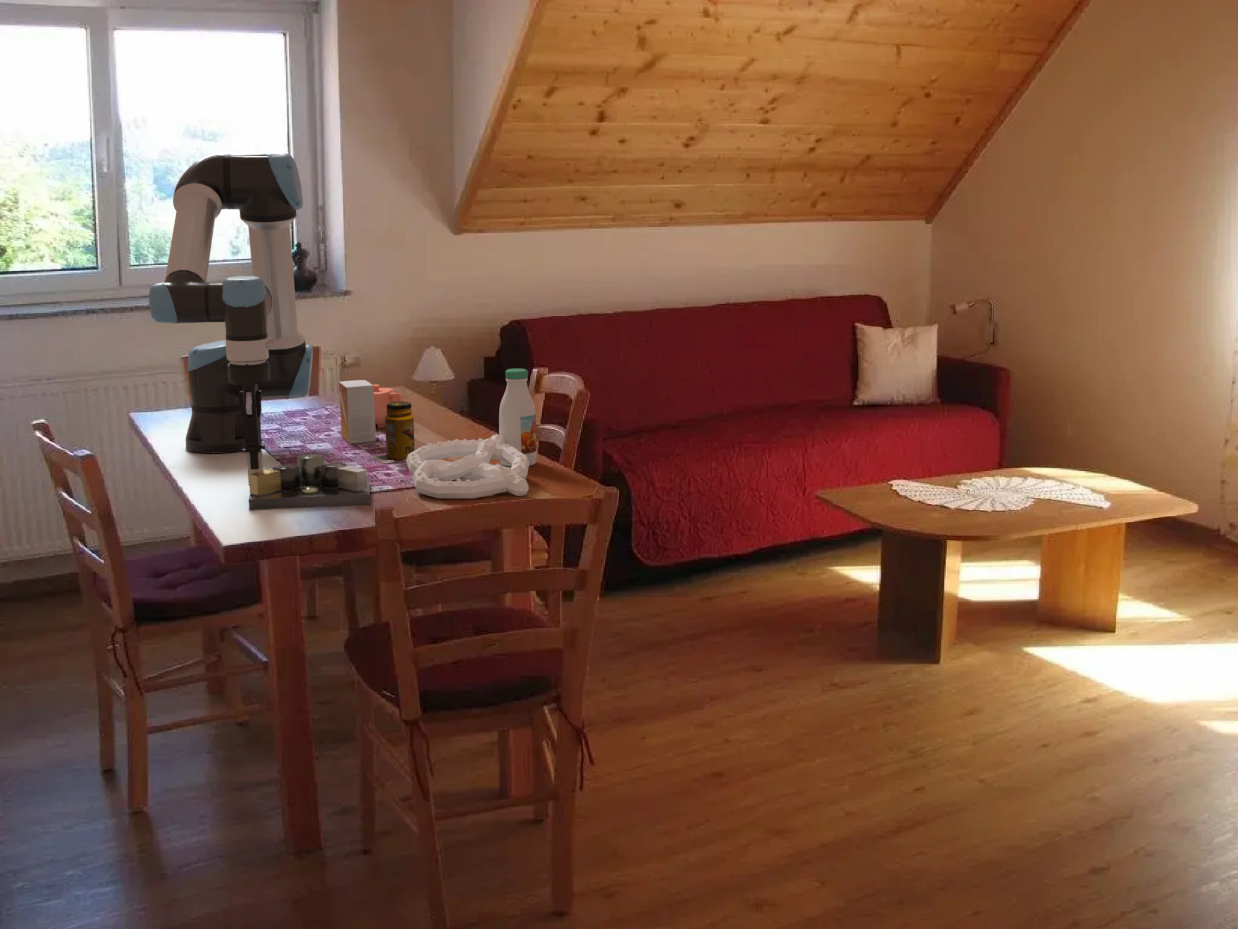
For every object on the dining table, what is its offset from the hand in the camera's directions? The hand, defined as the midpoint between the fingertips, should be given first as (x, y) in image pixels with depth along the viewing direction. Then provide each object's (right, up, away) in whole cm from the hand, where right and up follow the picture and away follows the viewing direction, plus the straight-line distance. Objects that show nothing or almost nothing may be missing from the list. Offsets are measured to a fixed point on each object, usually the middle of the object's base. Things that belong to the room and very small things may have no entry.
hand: (256, 484), depth 264 cm
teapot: (+10, +13, +72) cm, 74 cm away
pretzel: (+39, 0, +14) cm, 41 cm away
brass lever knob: (+4, -1, +1) cm, 4 cm away
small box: (+9, +9, +55) cm, 56 cm away
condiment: (+21, +5, +36) cm, 42 cm away
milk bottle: (+47, +4, +31) cm, 57 cm away
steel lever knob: (+16, 0, +3) cm, 16 cm away
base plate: (+10, -2, +4) cm, 11 cm away
